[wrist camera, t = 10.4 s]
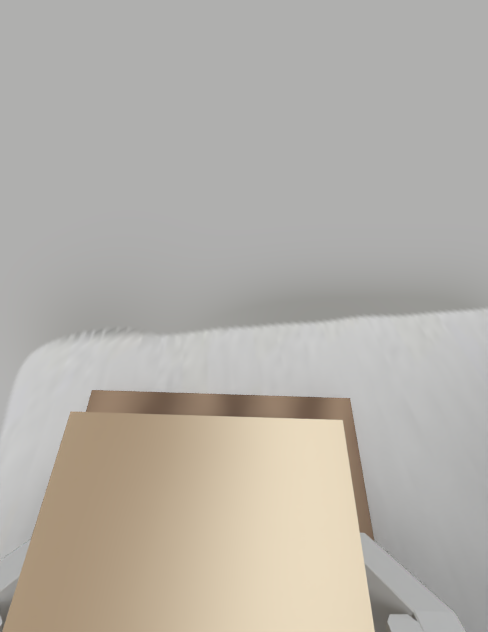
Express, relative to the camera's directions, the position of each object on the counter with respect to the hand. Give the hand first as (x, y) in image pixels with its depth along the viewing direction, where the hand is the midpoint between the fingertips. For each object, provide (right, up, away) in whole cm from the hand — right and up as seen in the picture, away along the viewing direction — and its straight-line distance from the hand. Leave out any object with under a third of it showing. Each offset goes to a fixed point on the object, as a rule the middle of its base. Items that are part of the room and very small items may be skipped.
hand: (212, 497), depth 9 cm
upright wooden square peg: (-1, -5, +7) cm, 8 cm away
